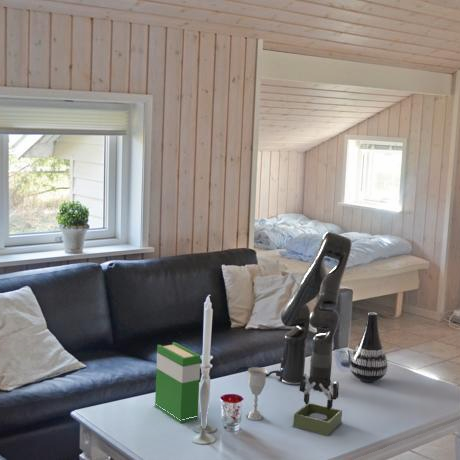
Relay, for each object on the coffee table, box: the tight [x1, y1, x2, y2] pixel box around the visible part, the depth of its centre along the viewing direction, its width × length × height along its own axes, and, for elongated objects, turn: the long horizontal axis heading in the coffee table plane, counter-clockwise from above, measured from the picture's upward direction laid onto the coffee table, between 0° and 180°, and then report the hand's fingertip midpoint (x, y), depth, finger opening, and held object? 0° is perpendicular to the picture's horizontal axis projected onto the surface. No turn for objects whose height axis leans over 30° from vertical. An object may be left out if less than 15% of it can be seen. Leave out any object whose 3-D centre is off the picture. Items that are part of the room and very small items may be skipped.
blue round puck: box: [310, 413, 327, 421], centre depth 284 cm, size 6×6×2 cm
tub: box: [292, 402, 343, 436], centre depth 283 cm, size 13×13×5 cm
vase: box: [349, 311, 389, 384], centre depth 331 cm, size 16×16×30 cm
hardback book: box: [154, 341, 202, 424], centre depth 286 cm, size 18×7×24 cm, turn 37°
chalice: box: [247, 366, 268, 421], centre depth 286 cm, size 7×7×18 cm
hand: (317, 406), depth 283 cm, fingers open, 8 cm apart
